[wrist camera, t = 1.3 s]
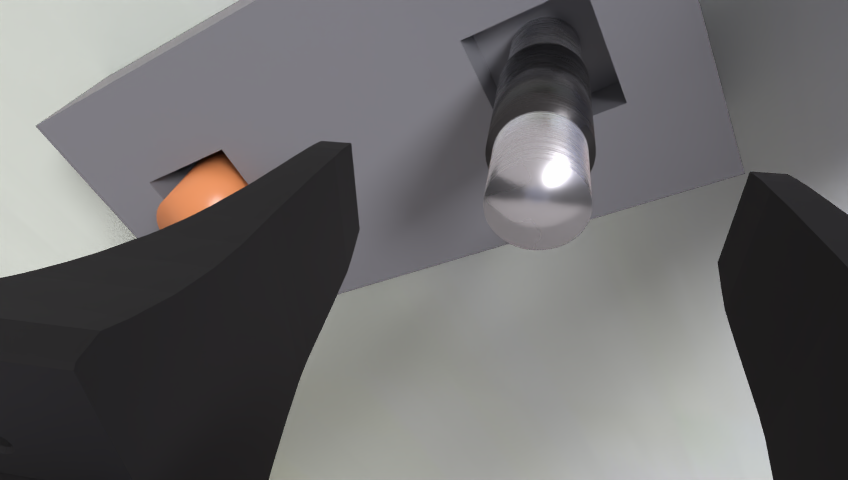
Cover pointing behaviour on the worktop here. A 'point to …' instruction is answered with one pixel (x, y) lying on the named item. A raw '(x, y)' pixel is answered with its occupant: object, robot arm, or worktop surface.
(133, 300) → the robot arm
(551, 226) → the toggle switch lever
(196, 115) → the grey block
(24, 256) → the worktop surface
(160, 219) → the button
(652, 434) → the worktop surface
